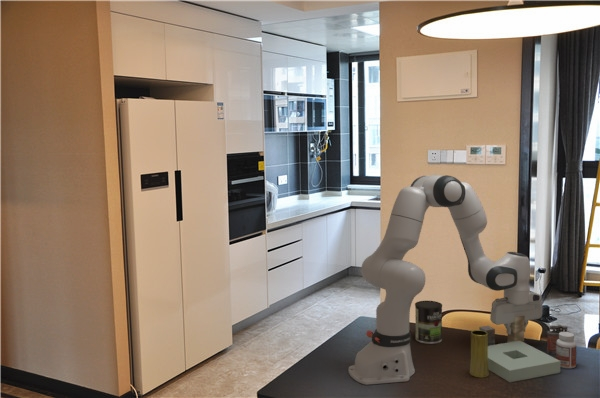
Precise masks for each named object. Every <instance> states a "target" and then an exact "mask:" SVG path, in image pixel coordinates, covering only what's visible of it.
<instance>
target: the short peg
mask: <svg viewBox="0 0 600 398" xmlns="http://www.w3.org/2000/svg"><path fill="white" fill-rule="evenodd" d="M478 330H483V331H486V332H487V333H488V346H490V345H496V344H495V343H496V342H495V341H496V329H495V328H494V327H492V326H490V325H483V326H479V327H478Z"/></svg>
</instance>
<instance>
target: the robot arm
mask: <svg viewBox="0 0 600 398" xmlns="http://www.w3.org/2000/svg"><path fill="white" fill-rule="evenodd" d="M429 207H432V208H447V209H448V210H449V213H450V216H451V218H452V220H453V223H454V225H455V227H456V229H457V232H458V234H459V239H460V241H461V244H462V247H463V249H464V253H465V256H466V259H467V272H468V276H469V278H470V279H471V280H472V281H473V282H474V283H476V284H479V285H481V286H484V287H485V288H488V289H490V290H492V291H497V292H499V291H503V297H501V298H495V300H492V302H491V309H490V316H489V317H490V318H489V319H490V321H491V323H492V324H494V325H496V326H499V325H503V326H504V327H505V329H506V334H507V335H508V334H513V329H511V328H510V326H511V323H514V322H515V317H519V316H525V322H524V333H526V328H527V326H528V325H529V321H533V320H538V319H539V320H540V319H541V318H542V316H543V303H542V298H543V297H542V295H541V294H540V293H537V292H534V291H532V290H531V289H530V288H531V287H530V284H529V283H530V279H531V264H530V259H529V257H528V256H527V255H525V254H524V253H520V252H516V251H507V252H506V253H505V255H504V256H502V257H501V258H499V259H497V260H495V261H494V260H492V259H490V258H489V257H487V255H486V254H485V252H484V250H483V247H482V243H481V241H480V237H479V236H480V234H481V233H483V232H484V230H485V229H486V227H487V224H488V218H487V214H486V212H485V210H484V206H483V205H482V202H481V200H480V198H479V196H478V195H477V193H476V191H475V189H474V188H473V187H472V185H471V184H470V183H468V182H465V181H460V180H459V179H458V178H457V177H455V176H452V175H446V174H445V175H441V174H430V175H422V176H419V177H417V178H415V179H414V180H413V182H412V183H411V184H410V186H405V187H403V188H402V189H400V191H399V192H398V194H397V197H396V199H395V201H394V203H393V207H392V209H391V212H390V217H389V220H388V224H387V227H386V231H385V233H384V235H383V238H382V241H381V242H380V244H379V246H378V247H377V248H376V249H375V251H374V252H373V253H372V254H371V255H369V256H367V257H366V258H365V259H364V260H363V261H362V264H361V267H360V270H361V272H360V274H361V276H362V278H363V279H364V281H366V282H367V283H369V284H370V285H371V286H373V287H376V288H379V289H383V290H385V298H384V301H382V302H380V303H379V304H378V305H377V306H376V309H375V315H376V321H375V322H376V324H375V325H376V329H375V331H374V332H373V331H371V330H367V331H366V336H367V337H368V338H370V339H371V341H369V343H367V345H365V346H364V347H363V348H362V349H361V350H358V352H357V353H356V356H355V358H354V359H355V360H354V364H353V365H350V366H348V369H347V370H348V371H347V373H348V375H350V377H351V378H352V379H353V380H354V381H356V382H357V383H360V384H361V385H367V386H369V385H377V384H389V383H402V382H409V380H410V378H411V377H412V376H413V375H414V374H415V372H416V369H415V367H414V363H413V358H412V351H411V350H412V349H411V344H412V334H411V333H412V332H411V329H410V316H411V314H410V311H411V306H412V303H413V301H414V298H415V297H416V296H417V295H419V294H420V293H421V292H422V291H423V290H424V288H425V285H426V274H425V272H424V270H423V268H421V267H419V266H418V265H416V264H414V263H413V262H410V261H407V260H403V259H404V257H405V256H406V254H408V252H409V251H410V250H413V249H414V248H416V247H417V245H418V243H419V239H420V236H421V232H422V228H423V225H424V220H425V214H426V212H427V210H428V209H429Z"/></svg>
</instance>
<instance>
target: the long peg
mask: <svg viewBox="0 0 600 398" xmlns="http://www.w3.org/2000/svg"><path fill="white" fill-rule="evenodd" d="M524 322H525V316H519V317H515V322H514V323H511V326H510V328H511V329H513V334H507V340H506V341H507V342H506V343H508V342H514V341H522V342H524V343H525V332H524Z"/></svg>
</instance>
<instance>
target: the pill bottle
mask: <svg viewBox="0 0 600 398" xmlns="http://www.w3.org/2000/svg"><path fill="white" fill-rule="evenodd" d="M570 332H571V331H569V332H560V333H559V338H560V339H558V340H557V342H556V354H555V359H557V360H559V361H561V364H560V368H562V369H573V368H576V366H577V342H576V341H575V340H574V339H575V334H574V333H573V332H571V333H570Z"/></svg>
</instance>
